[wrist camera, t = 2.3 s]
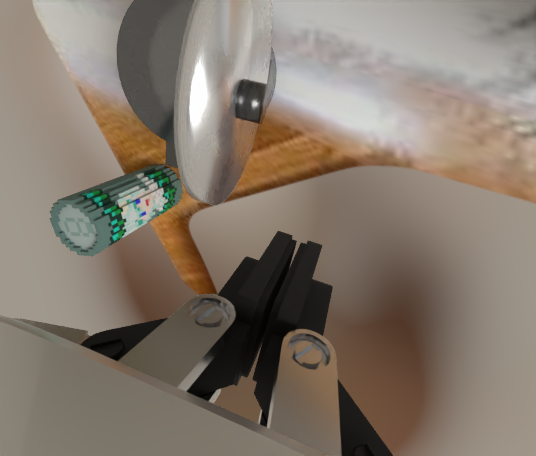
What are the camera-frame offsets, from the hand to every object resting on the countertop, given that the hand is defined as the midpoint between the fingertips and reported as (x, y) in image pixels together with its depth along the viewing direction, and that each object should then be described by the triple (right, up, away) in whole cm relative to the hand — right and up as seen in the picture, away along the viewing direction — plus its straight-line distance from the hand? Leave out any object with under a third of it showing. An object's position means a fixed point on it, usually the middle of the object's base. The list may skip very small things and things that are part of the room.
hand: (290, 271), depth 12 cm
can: (-16, +8, +33) cm, 37 cm away
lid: (-3, +10, +9) cm, 14 cm away
